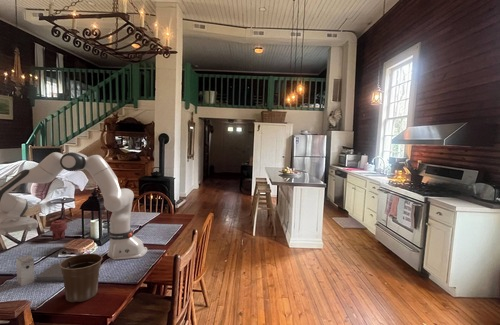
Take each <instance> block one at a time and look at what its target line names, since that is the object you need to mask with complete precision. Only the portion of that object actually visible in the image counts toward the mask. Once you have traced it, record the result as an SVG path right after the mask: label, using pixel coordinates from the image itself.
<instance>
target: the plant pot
mask: <svg viewBox="0 0 500 325" xmlns="http://www.w3.org/2000/svg"><path fill="white" fill-rule="evenodd" d="M102 261H103V256H102V255H101V254H97V253H90V252H89V253H81V254H76V255H73V256H69V257H67V258H65V259H63V260H62V261H61V262H60V263H59V264H60V268H61V271H62V275H63V279H64V281H63V287H64V294H65V300H66V301H67V302H70V303H75V302H79V303H81V302H85V301H88V300H90V299H92V298H93V297H95V296H96V295H97V293H98V291H99V289H98V286H99V280H100V279H99V278H100V268H101V267H102V266H101V264H102Z"/></svg>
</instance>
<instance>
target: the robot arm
mask: <svg viewBox="0 0 500 325" xmlns="http://www.w3.org/2000/svg"><path fill="white" fill-rule="evenodd" d="M64 170H65V171H68V172H82V171H83V172H84V171H87V172H88V173H89V175H90V176H91V177H92V179H93V180H94V183H96V185H97V187H98V188H99V190H100V192H101V195H102V197H103V206H104V208H105V210H107V211H108V212H112V213H111V216H110V218H109V232H108V233H109V234H108V238H109V244H108V245H109V247H108V251H107V257H109V258H111V259H112V260H125V259H138V258H139V259H140V258H143V257H144V256H145V255H146V254H147V253H148V247H146V246H144V241H142V240H141V239H140V238H138V237H137V236H135V234H134V232H135V230H132V229H131V214H132V213H131V212H132V208H133V201H134V198H135V193H134V192H133V190H132V189H130V188H126V187H125V188H121V187H120V184H119V179H118V177H117V175H116V173H115V172H114V170H113V169H112V167H111V166H110V165H109V163H108V162H107V161H106V160H105V159H104V158H103V157H102V155H99V154H93V155H90V156H88V155H87V154H86V153H83V152H82V153H81V152H77V151H75V152H71V151H70V152H66V153H64V154H63V153H61V152H57V151H55V152H51V153H50V154H48V155H47V156H45V157H44V159H42V160H41V161H40V162H39V163H38V164H37V165H35V166H33V167H31V168H27V169H23V170H21V171H20V172H18V173H17V174H15V175H14V176H13V177H11V178H10V179H8V180H7V181H6V182H4V183H3V184H1V186H0V235H1V236H8V235H9V234H10V233H16V232H23V231H27V232H31V231H32V230H34V229H38V227H39V222H38V220H37V219H35V218H34V217H30V215H25V213H27V211H28V207H29V204H28V201H27V200H28V199H26V198H23V197H21V196H17V195H14V194H11V193H10V192H12V191H13V190H14V189H15V188H17V187H19V186H20V185H22V184H37V185H38V184H39V185H40V184H49V183H51V182H52V181H54V180H55V179H56V178H57V177H58V176H59V175H60V173H61V172H62V171H64Z"/></svg>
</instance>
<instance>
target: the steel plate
mask: <svg viewBox="0 0 500 325" xmlns="http://www.w3.org/2000/svg"><path fill="white" fill-rule="evenodd" d="M36 282H37V283H48V282H54V283H55V282H58V283H59V282H61V283H62V282H64V279H63V275H62V271H61V268H60V263H53V264H52V265H51V266H50V267H48V268H46V269H45V270H44V271H43V272H41V273H40V274H39V275H37V276H36Z"/></svg>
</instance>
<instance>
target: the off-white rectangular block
mask: <svg viewBox="0 0 500 325" xmlns="http://www.w3.org/2000/svg"><path fill="white" fill-rule="evenodd" d="M15 259H16V261H15V262H16V282H17V283H18V284H19V286H21V287H24V286H26V285H30V284H33V283H35V259H34V257H33V256H32V255H30V254H26V255H23V256H19V257H16V258H15Z"/></svg>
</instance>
